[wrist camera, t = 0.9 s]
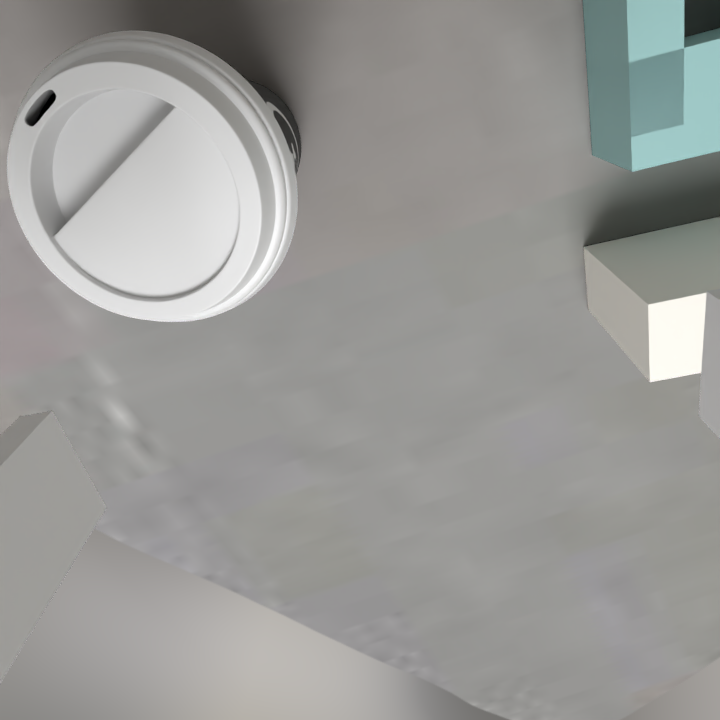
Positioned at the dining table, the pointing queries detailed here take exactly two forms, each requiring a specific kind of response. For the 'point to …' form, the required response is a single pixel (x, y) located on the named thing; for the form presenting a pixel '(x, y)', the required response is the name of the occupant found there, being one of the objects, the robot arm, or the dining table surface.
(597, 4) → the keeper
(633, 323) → the wall
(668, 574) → the dining table surface
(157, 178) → the coffee cup
